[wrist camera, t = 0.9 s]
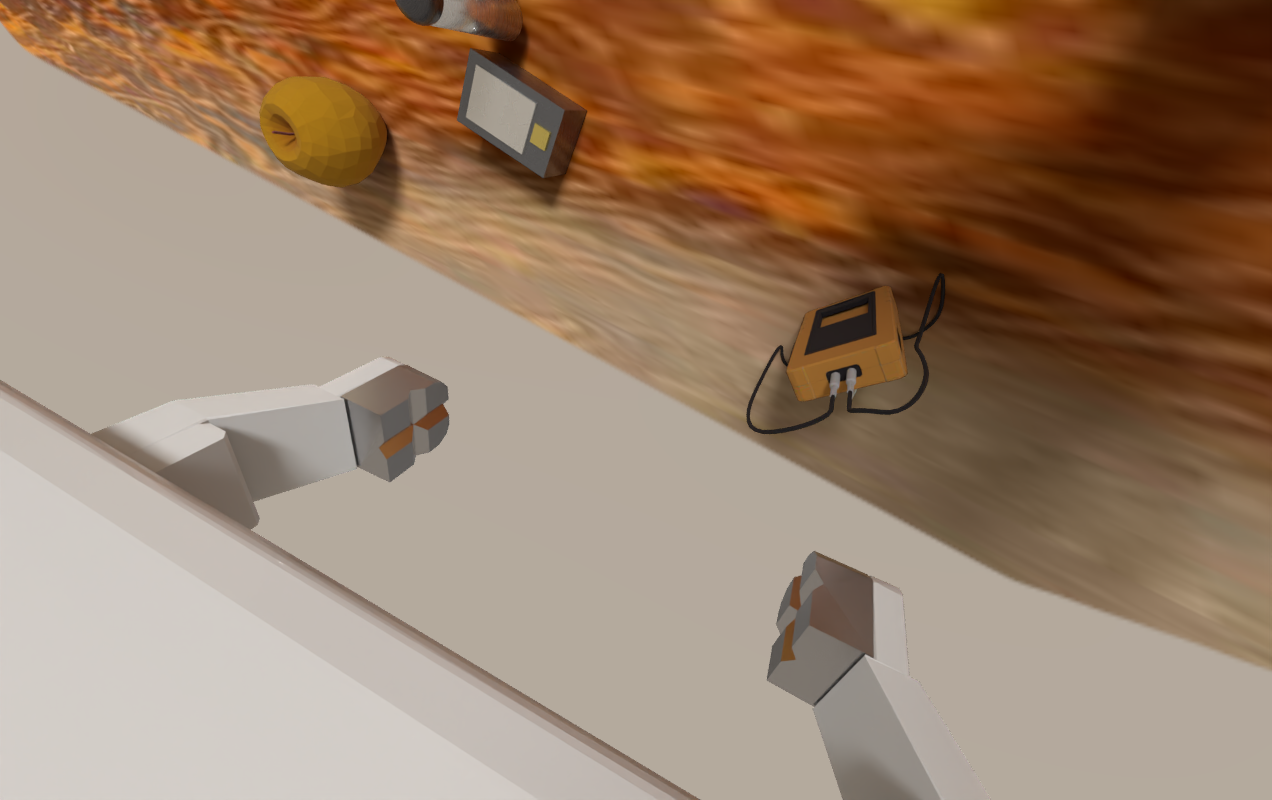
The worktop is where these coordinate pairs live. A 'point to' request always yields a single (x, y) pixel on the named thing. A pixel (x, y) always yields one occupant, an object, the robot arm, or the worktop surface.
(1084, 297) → the worktop surface
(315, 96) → the apple
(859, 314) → the multimeter
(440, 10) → the grey crank handle
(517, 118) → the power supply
